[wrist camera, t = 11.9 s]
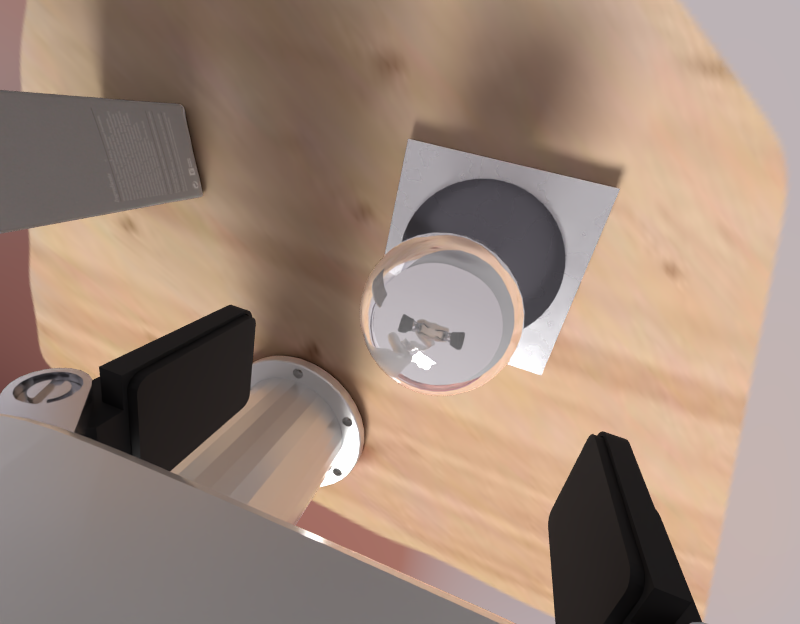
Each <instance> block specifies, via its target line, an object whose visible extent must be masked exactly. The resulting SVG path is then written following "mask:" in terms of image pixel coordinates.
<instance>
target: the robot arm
mask: <svg viewBox="0 0 800 624" xmlns="http://www.w3.org/2000/svg"><path fill="white" fill-rule="evenodd" d="M255 326H256V321H255V319H254V318H253V317H252V314H251V312H250V311H248V310H245V309H242V308H239V307H236V306H233V305H229V306H226V307H224V308H222V309H220V310H218V311H216V312H213V313H211V314H209V315H207V316H205V317H203V318H201V319H199V320H197V321H194V322H192V323H190V324H188V325H186V326H184V327H182V328H180V329H178V330H176V331H173V332H171V333H169V334H167V335H165V336H163V337H161V338H159V339H157V340H155V341H152V342H150V343H148V344H146V345H144V346H142V347H140V348H138V349H136V350H133V351H131V352H129V353H127V354H125V355H123V356H121V357H119V358H117V359H115V360H112V361H110V362H108V363H106V364H104V365H102V366H100V367H99V370H100V377H98V378H96V379H94V380H92V378H91V377H90V376H89V374H87V373H85V372H83V371H81V370H77V369H72V368H54V369H45V370H41V371H37V372H32V373H30V374H27V375H24V376H22V377H19V378H18V379H16V380H14V381H13V382H11V383H10V384H9V385H8V386H7V387H6V388H5V389H4V390H3V391H2V393H1V394H0V624H515V623H513V622H511V621H509V620H507V619H505V618H502V617H500V616H498V615H496V614H494V613H491V612H489V611H487V610H485V609H483V608H481V607H478V606H476V605H474V604H471V603H469V602H467V601H465V600H462V599H460V598H458V597H456V596H453V595H451V594H449V593H447V592H444V591H442V590H440V589H438V588H435V587H433V586H431V585H429V584H426V583H424V582H422V581H420V580H417V579H415V578H412V577H411V576H408V575H406V574H404V573H402V572H399V571H397V570H395V569H392V568H390V567H388V566H386V565H384V564H381V563H379V562H377V561H374V560H372V559H370V558H368V557H366V556H363V555H361V554H359V553H356V552H354V551H352V550H350V549H347V548H345V547H343V546H340V545H338V544H336V543H333V542H331V541H329V540H326V539H325V538H322V537H320V536H318V535H315V534H313V533H311V532H309V531H306V530H304V529H302V528H299V527H297V526H295V525H296V523H297V522H298V520H299V519H300V517H301V515H302V514H303V512H304V511H305V509H306V508H307V506H308V504H309V503H310V501H311V500H312V498H313V497H314V495H315V493H316V492H317V490H318V489H319V487H321V486H327V485H331V484H334V483H336V482H338V481H340V480H342V479H343V478H344V477H346V476H347V475H348V474H349V473H350V472H351V471H352V469H353V468H354V466H355V465H356V463H357V461H358V459H359V457H360V455H361V453H362V449H363V445H364V428H363V423H362V418H361V416H360V413H359V411H358V408H357V406H356V404H355V403H354V401H353V399H352V398H351V396H350V395H349V393H348V392H347V391H346V390H345V388H344V387H343V386H342V385H341V384H340V383H339V382H338V381H337V380H336V379H335V378H334V377H332V376H331V375H330V374H329V373H328V372H326V371H325V370H323V369H321V368H320V367H318V366H316V365H315V364H312V363H310V362H308V361H305V360H303V359H299V358H295V357H290V356H270V357H265V358H262V359H260V360H257V361H255V362H253V351H254V339H255ZM548 530H549V544H550V557H551V570H552V583H553V596H554V609H555V622H556V624H706V623H703V622H702V620H701V618H700V615H699V613H698V610H697V608H696V605H695V603H694V600H693V598H692V595H691V593H690V590H689V588H688V585H687V583H686V580H685V578H684V575H683V573H682V570H681V568H680V565H679V563H678V560H677V558H676V555H675V553H674V550H673V548H672V545H671V543H670V540H669V538H668V535H667V532H666V530H665V527H664V525H663V522H662V520H661V517H660V515H659V513H658V512H657V510H656V509H655V507H654V505H653V502H652V500H651V497H650V494H649V492H648V489H647V487H646V484H645V482H644V479H643V477H642V474H641V472H640V469H639V466H638V464H637V461H636V459H635V456H634V454H633V451H632V449H631V446H630V443H629V442H628V440H626V439H624V438H621V437H618V436H615V435H612V434H609V433H606V432H603V431H602V432H600V433H599V434H598V435H594V434H591V435H590V436H589V438H588V439H587V441H586V443H585V445H584V447H583V449H582V451H581V453H580V455H579V457H578V459H577V461H576V463H575V465H574V467H573V469H572V471H571V473H570V475H569V477H568V479H567V481H566V482H565V484H564V486H563V488H562V490H561V492H560V494H559V496H558V498H557V500H556V502H555V504H554V506H553V508H552V510H551V512H550V516H549V521H548Z"/></svg>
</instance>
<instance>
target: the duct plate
mask: <svg viewBox="0 0 800 624" xmlns="http://www.w3.org/2000/svg"><path fill="white" fill-rule="evenodd" d="M619 190H620V189H619V188H615V187H611V186H607V185H603V184H598V183H594V182H590V181H586V180H582V179H577V178H573V177H569V176H565V175H560V174H556V173H552V172H548V171H543V170H539V169H535V168H531V167H527V166H522V165H518V164H514V163H510V162H505V161H501V160H497V159H493V158H488V157H484V156H480V155H476V154H472V153H467V152H463V151H459V150H455V149H450V148H446V147H442V146H438V145H433V144H429V143H425V142H421V141H416V140H412V139H408V143H407V148H406V153H405V157H404V162H403V167H402V172H401V177H400V182H399V187H398V192H397V197H396V202H395V207H394V212H393V217H392V222H391V226H390V231H389V236H388V241H387V246H386V251H385V255H386V254H387V253H388V252H389V251H390V250H391V249H392V248H394V247H395V246H397V245H398V244H400V243H401V242H403V241H405V240H407V239H410V238H412V237H415V236H417V235H421V234H426V233H432V232H455V233H460V234H464V235H469V236H471V237H473V238H475V239H478V240H480V241H482V242H484V243H485V244H487V245H488V246H490V247H491V248H492V249H494V250H495V251H497V252H498V253H499V255H500V256H501V257H502V258H503V259H504V260H505V261H506V262H507V263H508V264H509V266H510V268H511V269H512V271H513V273H514V274H515V276H516V278H517V281H518V283H519V286H520V289H521V292H522V295H523V302H524V309H525V317H524V328H523V331H522V334H521V337H520V340H519V344H518V347H517V349H516V351H515V353H514V354H513V356H512V358H511V360H510V361H509V363H508V364H509V365H512V366H515V367H518V368H521V369H524V370H527V371H530V372H533V373H536V374H539V375H542V372H543V370H544V368H545V365H546V363H547V360H548V358H549V356H550V353H551V351H552V349H553V346H554V344H555V341H556V339H557V337H558V334H559V332H560V330H561V327H562V325H563V323H564V320H565V318H566V315H567V313H568V311H569V308H570V306H571V304H572V301H573V299H574V296H575V294H576V292H577V289H578V287H579V285H580V282H581V280H582V277H583V275H584V273H585V270H586V268H587V266H588V263H589V261H590V259H591V256H592V254H593V251H594V249H595V247H596V244H597V242H598V240H599V237H600V235H601V232H602V230H603V228H604V225H605V223H606V221H607V218H608V216H609V214H610V211H611V209H612V206H613V204H614V202H615V199H616V197H617V195H618V192H619Z"/></svg>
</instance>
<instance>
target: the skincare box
mask: <svg viewBox="0 0 800 624" xmlns="http://www.w3.org/2000/svg"><path fill="white" fill-rule="evenodd" d="M202 196H203V193H202V188H201V183H200V178H199V174H198V170H197V166H196V162H195V158H194V154H193V150H192V145H191V140H190V135H189V130H188V126H187V121H186V115H185V109H184V107H183V105H180V104H174V103H158V102H144V101H131V100H119V99H106V98H95V97H81V96H68V95H56V94H43V93H31V92H18V91H6V90H0V234H1V233H6V232H12V231H17V230H23V229H28V228H34V227H39V226H45V225H50V224H56V223H61V222H67V221H72V220H77V219H83V218H88V217H94V216H99V215H105V214H110V213H116V212H121V211H126V210H131V209H137V208H143V207H148V206H154V205H159V204H164V203H170V202H176V201H181V200H187V199H192V198H198V197H202Z"/></svg>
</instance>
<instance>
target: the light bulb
mask: <svg viewBox="0 0 800 624" xmlns="http://www.w3.org/2000/svg"><path fill="white" fill-rule="evenodd" d="M524 317H525V309H524V302H523V295H522V292H521V289H520V286H519V283H518V281H517V278H516V276H515V274H514V273H513V271H512V269H511V268H510V266H509V264H508V263H507V262H506V261H505V260H504V259H503V258H502V257H501V256H500V255H499V253H498V252H497V251H495V250H494V249H492V248H491V247H490V246H488V245H487V244H485V243H484V242H482V241H480V240H478V239H475V238H473V237H471V236H469V235H464V234H460V233H455V232H432V233H426V234H421V235H417V236H415V237H412V238H410V239H407V240H405V241H403V242H401V243H400V244H398V245H397V246H395V247H394V248H392V249H391V250H390V251H389V252H388V253H387V254H386V255H385V256H384V257H383V258H382V259H381V260H380V261H379V262H378V263H377V264H376V265H375V267H374V269H373V270H372V272H371V274H370V275H369V277H368V279H367V282H366V285H365V287H364V290H363V294H362V297H361V304H360V326H361V330H362V333H363V337H364V341H365V344H366V346H367V348H368V351H369V353H370V355H371V356H372V358H373V359H374V361H375V362H376V364H377V365H378V366H379V367H380V369H381V370H382V371H383V372H384V373H385V374H386V375H387V376H389V377H390V378H391V379H393V380H394V381H395V382H397V383H398V384H400V385H402V386H404V387H406V388H408V389H410V390H412V391H415V392H419V393H422V394H426V395H434V396H451V395H455V394H460V393H464V392H469V391H471V390H474V389H476V388H478V387H480V386H483V385H484V384H486V383H487V382H488V381H490V380H491V379H493V378H494V377H495V376H496V375H497V374H498V373H499V372H500V371H501V370H502V369H503V368H504V367H505V366H506V365H507V364H508V363H509V361H510V360H511V358H512V356H513V354H514V353H515V351H516V349H517V347H518V344H519V340H520V337H521V334H522V331H523V328H524Z"/></svg>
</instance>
